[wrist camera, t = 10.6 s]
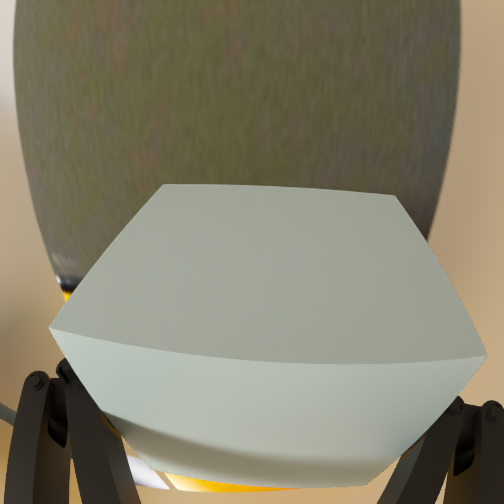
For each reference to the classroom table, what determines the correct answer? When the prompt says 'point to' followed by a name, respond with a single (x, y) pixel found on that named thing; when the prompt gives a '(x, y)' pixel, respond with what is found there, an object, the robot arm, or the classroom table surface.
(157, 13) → the classroom table surface
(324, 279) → the rounded gray box
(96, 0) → the classroom table surface
